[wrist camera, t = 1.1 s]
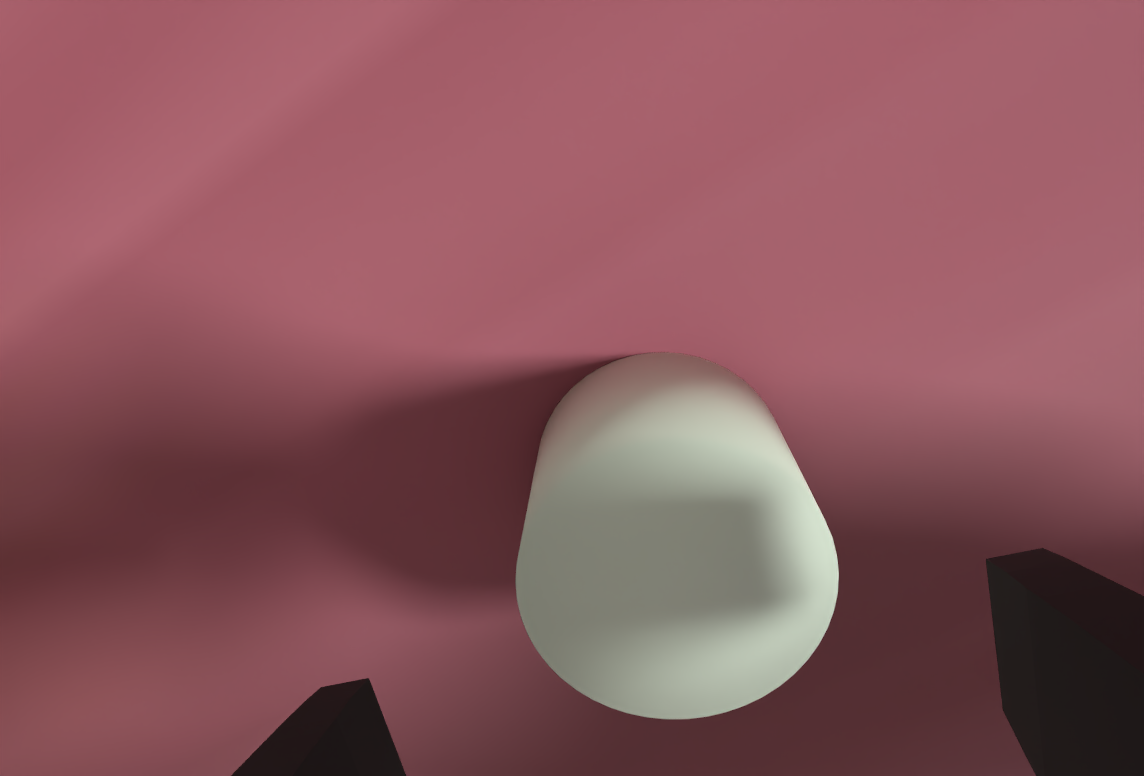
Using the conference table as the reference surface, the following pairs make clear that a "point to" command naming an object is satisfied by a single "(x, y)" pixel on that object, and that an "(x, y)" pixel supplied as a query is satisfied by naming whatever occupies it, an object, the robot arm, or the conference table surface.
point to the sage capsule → (672, 542)
